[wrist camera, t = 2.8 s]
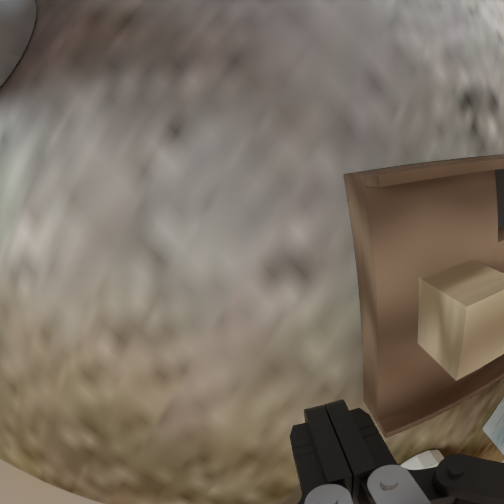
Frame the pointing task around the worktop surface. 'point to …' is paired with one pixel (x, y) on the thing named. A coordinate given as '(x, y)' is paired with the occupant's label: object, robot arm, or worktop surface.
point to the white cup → (424, 460)
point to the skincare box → (496, 427)
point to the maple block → (462, 317)
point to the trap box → (419, 275)
